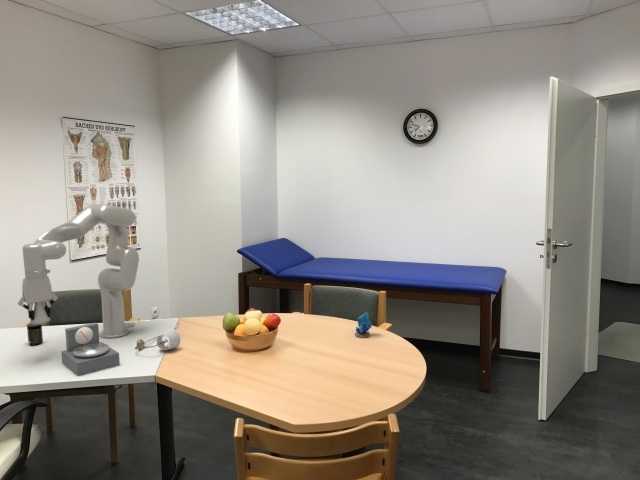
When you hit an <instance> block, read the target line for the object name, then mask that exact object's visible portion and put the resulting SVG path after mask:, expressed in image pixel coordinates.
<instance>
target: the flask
mask: <svg viewBox="0 0 640 480" xmlns="http://www.w3.org/2000/svg"><path fill="white" fill-rule="evenodd" d="M43 302H44V301H43ZM43 302H38V303H34V305H33V306H34V307H33V311H34V320H31V319H30V321H29V324H30V323H31V324H42V325H43V324H47V323H49V322H51V321H52V319H51V318H50V317H48V316H47V312H46V310H45V306H44V304H43Z"/></svg>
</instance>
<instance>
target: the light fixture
mask: <svg viewBox="0 0 640 480" xmlns="http://www.w3.org/2000/svg"><path fill="white" fill-rule="evenodd" d="M178 328H179V323H177V327H175V328H166V329H165V330H164V331H162V332H161V334H159V335H158V336H155V337H153V338H151V339H148V340H146V341H144V340H143V339H141V338H139V339H138V340H137V341H136V346H135V347H134V349H135V350H139V351H141V350H143V349H149V348H154V347H158V348H159V349H160V350H163V351H170V350H175V349H177V348H178V347H179V346H180V344H181V335H180V333H179V332H178V330H177V329H178ZM163 336H165V337H166V338H167V339H166V338H165V339H164V340H163ZM154 339H157V340H156V345H150V346H145V345H146V343H148V342H150V341H152V340H154ZM167 343H169V346H168V347H167V345H166V344H167Z"/></svg>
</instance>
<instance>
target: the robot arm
mask: <svg viewBox="0 0 640 480" xmlns="http://www.w3.org/2000/svg"><path fill="white" fill-rule="evenodd" d="M135 222H136V214H135V212H134V210H131V209H130V208H127V207H126V208H125V207H120V206H116V205H109V204H102V203H101V204H99V203H97V204H96V203H92V204H90V205H87V206H86V207H84V209H82V210H81V211H79V212H78V213H77V214H76V215H75V216H74V217H72V218H71V219H70V220H68V221H66V222H64V223H62V224H59V225H58V226H56V227H53V228H51V229H49V230H48V231H45V233H43V234H42V235H41V236H40V237H38V238H36V240H35V241H34V242H33V243H27V244H24V245H23V246H22V258H23V267H24V268H23V269H24V277H25V278H23V279H22V283H21V284H22V285H21V289H22V290H21V292H22V293H21V294H22V296H21V298H20V299H19V301H18V302H17V305H18V306H21V308H24V309H25V310H27V312H28V313H27V314H28V319H30V320H34V309H33V308H34V307H33V306H34V304H35V303H38V302H44V305H45V306H44V308H45V310H46V312H47V316H48V317H49V318H50V317H51V316H50V315H51V307H52V305H53V304H54V303H55V301H57V299H58V298H59V296H58V295H57V294H56V293H54V292H53V289H52V285H51V280H50V277H49V275H48V274H50V273H51V269H47V267H46V266H47V264H46V261H47V260H58V259H61V258H63V257H65V255H66V253H67V247H66V244H64V243H65V242H68V241H72V240H76V239H80V238H82V237H84V236H85V235H87V234H88V233H89V231H91V230H92V229H94V227H96V226H97V225H98V224H103V225H105V226H106V228H107V229H108V232H109V239H108V244H107V248H106V254H105V262H106V263H107V264H108V265H109V266H113V267H119V269H118V268H111V267H110V268H105V269H103V270H101V271H100V272H99V274H98V275H97V284H98V286H99V290H100V296H101V310H102V311H101V312H102V314H101V315H102V329H103V330H102V331H99V337H101V338H103V339H105V338H106V339H115V338H120V337H124V336H126V335H128V334H129V328H134V327H135V326H136V323H135V322H132V323H131V322H125V309H124V308H125V307H124V306H125V304H124V295H123V291H124V292H125V291H126V292H127V291H129V290H131V289H132V288H133V287H134V285H135V282H136V278H137V272H138V268H139V261H140V256H139V253H138V251H137V249H136V248H134V247H131V246H128V245H129V239H130V238H129V237H130V236H129V231H128V229H127V228H129V227H132V226H133V224H134V223H135Z"/></svg>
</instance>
